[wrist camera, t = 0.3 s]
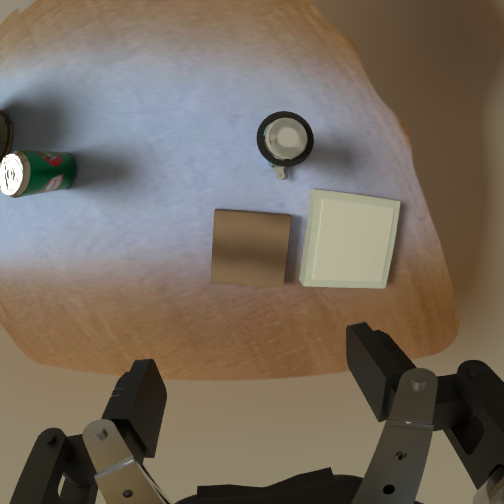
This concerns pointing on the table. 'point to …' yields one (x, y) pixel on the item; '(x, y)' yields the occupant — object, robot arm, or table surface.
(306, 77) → the table surface
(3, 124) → the apothecary jar
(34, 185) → the soda can
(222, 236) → the walnut stand
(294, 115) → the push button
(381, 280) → the cream tray
